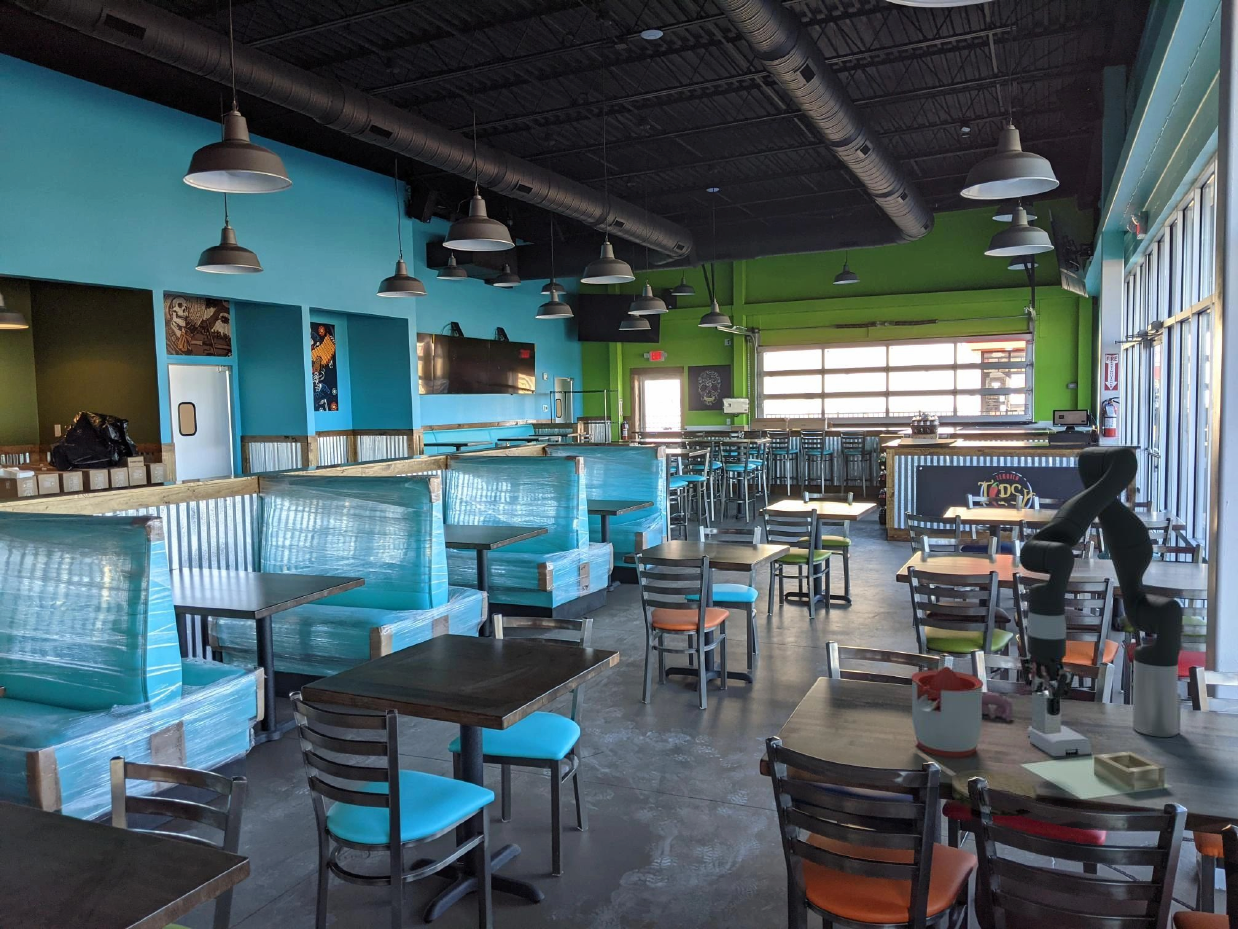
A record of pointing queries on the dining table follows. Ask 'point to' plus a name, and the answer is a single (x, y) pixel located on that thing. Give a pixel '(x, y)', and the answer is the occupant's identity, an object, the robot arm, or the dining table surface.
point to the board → (1078, 777)
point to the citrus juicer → (947, 711)
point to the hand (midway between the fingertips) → (1046, 711)
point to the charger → (1060, 742)
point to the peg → (1044, 714)
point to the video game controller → (1000, 701)
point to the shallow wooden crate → (1129, 771)
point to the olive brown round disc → (991, 786)
